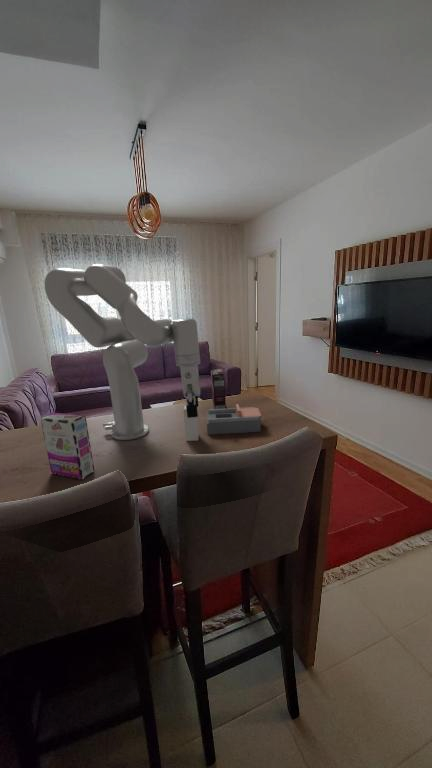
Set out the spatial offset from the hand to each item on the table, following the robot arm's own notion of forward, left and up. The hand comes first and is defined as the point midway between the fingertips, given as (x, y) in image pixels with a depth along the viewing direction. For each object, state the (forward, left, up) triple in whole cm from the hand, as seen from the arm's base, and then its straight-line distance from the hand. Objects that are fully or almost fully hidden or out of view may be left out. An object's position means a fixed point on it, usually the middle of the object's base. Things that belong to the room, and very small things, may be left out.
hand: (193, 411), depth 102 cm
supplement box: (+9, +27, -10) cm, 30 cm away
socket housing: (+13, +8, -9) cm, 18 cm away
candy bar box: (-33, -18, -10) cm, 38 cm away
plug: (-1, 0, -9) cm, 9 cm away
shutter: (+19, +8, -5) cm, 21 cm away
